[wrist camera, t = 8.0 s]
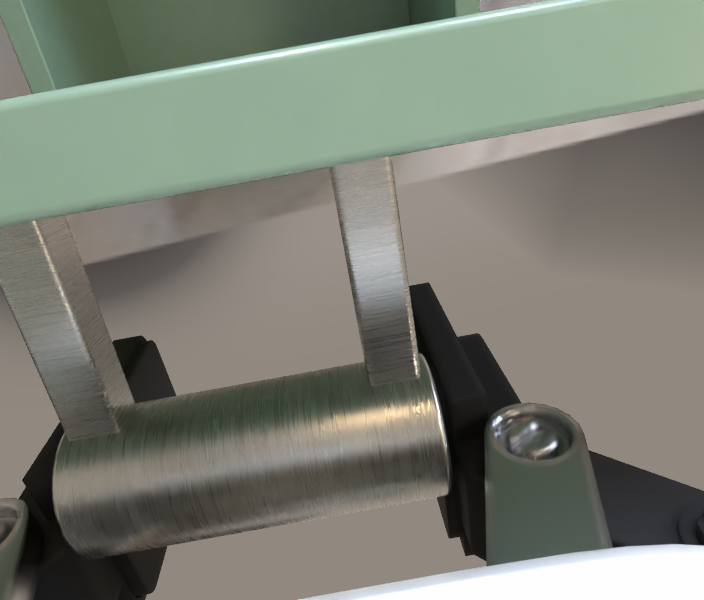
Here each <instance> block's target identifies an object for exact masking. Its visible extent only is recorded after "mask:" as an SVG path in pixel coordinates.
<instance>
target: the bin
mask: <svg viewBox="0 0 704 600" xmlns="http://www.w3.org/2000/svg"><path fill="white" fill-rule="evenodd" d="M476 13H480V3H479V0H0V17H1V19H2V22H3V24H4V27H5V29H6V31H7V34H8V36H9V39H10V41H11V44H12V46H13V48H14V51H15V53H16V56H17V58H18V61H19V63H20V65H21V68H22V70H23V73H24V75H25V77H26V80H27V82H28V85H29V87H30V90H31V92H32V94H36V93H41V92H47V91H52V90H58V89H63V88H69V87H74V86H80V85H85V84H91V83H96V82H102V81H107V80H113V79H118V78H124V77H129V76H135V75H140V74H146V73H151V72H157V71H162V70H168V69H173V68H179V67H184V66H190V65H195V64H201V63H206V62H212V61H217V60H223V59H228V58H234V57H239V56H245V55H250V54H256V53H261V52H267V51H272V50H278V49H283V48H289V47H294V46H300V45H305V44H311V43H316V42H322V41H327V40H333V39H338V38H344V37H349V36H355V35H360V34H366V33H371V32H377V31H382V30H388V29H393V28H399V27H404V26H410V25H415V24H421V23H426V22H432V21H437V20H443V19H448V18H454V17H459V16H465V15H470V14H476Z"/></svg>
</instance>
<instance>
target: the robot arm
mask: <svg viewBox="0 0 704 600" xmlns="http://www.w3.org/2000/svg"><path fill="white" fill-rule="evenodd" d="M409 290H410V298H411V305H412V312H413V320H414V327H415V334H416V341H417V349H418V353H421V354H422V355H423V356H424V358H425V359H426V361H427V363H428V365H429V368H430V370H431V373H432V376H433V379H434V382H435V386H436V389H437V393H438V397H439V401H440V405H441V409H442V413H443V418H444V423H445V427H446V433H447V438H448V444H449V450H450V457H451V465H452V489H451V492H450V493H449V494H447V495H446V496H440V497H437V500H438V503H439V507H440V510H441V514H442V517H443V520H444V524H445V528H446V531H447V534H448V537H449V538H455V537H460V540H461V543H462V546H463V549H464V553H465V556H468V555H476V556H478V557H480V558H481V559H483V560H485V561H487V566H486V567H480V568H473V569H467V570H461V571H456V572H450V573H445V574H438V575H433V576H427V577H422V578H416V579H411V580H405V581H399V582H394V583H388V584H382V585H377V586H371V587H366V588H360V589H354V590H349V591H343V592H337V593H332V594H326V595H321V596H315V597H309V598H304V599H298V600H704V491H702V490H699V489H696V488H693V487H691V486H688V485H685V484H682V483H680V482H677V481H674V480H671V479H668V478H665V477H663V476H659V475H657V474H654V473H651V472H648V471H646V470H643V469H640V468H637V467H634V466H632V465H629V464H625V463H623V462H620V461H617V460H615V459H612V458H609V457H606V456H603V455H601V454H598V453H595V452H592V451H589V450H588V447H587V443H586V439H585V436H584V433H583V431H582V429H581V427H580V425H579V423H578V422H576V420H574V419H573V418H572V417H571V416H570V415H569V414H567V413H565V412H563V411H562V410H559V409H558V408H555V407H551V406H548V405H545V404H537V403H521V402H520V400H519V398H518V397H517V395H516V393H515V392H514V390H513V388H512V387H511V385H510V383H509V382H508V380H507V378H506V377H505V375H504V373H503V372H502V370H501V368H500V367H499V365H498V363H497V362H496V360H495V358H494V357H493V355H492V353H491V352H490V350H489V348H488V347H487V345H486V343H485V342H484V340H483V338H482V337H481V336H480V334H477V333H476V334H471V335H465V336H460V337H457V336H456V334H455V332H454V330H453V329H452V326H451V324H450V322H449V320H448V318H447V316H446V314H445V313H444V311H443V309H442V307H441V305H440V303H439V301H438V299H437V297H436V295H435V293H434V291H433V289H432V288H431V285H430V284H429V283H423V284H417V285H412V286H409ZM112 343H113V346H114V349H115V351H116V354H117V357H118V359H119V362H120V365H121V367H122V370H123V373H124V375H125V378H126V381H127V383H128V386H129V389H130V391H131V394H132V397H133V399H134V402H135V403H140V402H146V401H151V400H157V399H162V398H168V397H173V396H176V394H175V391H174V389H173V386H172V384H171V381H170V379H169V376H168V374H167V371H166V368H165V366H164V363H163V361H162V358H161V356H160V354H159V351H158V349H157V346H156V344H155V343H154V342H153V341H152V340H151V341H147V340H146V339H145V338H144V337H143V336H136V337H130V338H125V339H119V340H114V341H113V342H112ZM64 432H65V431H64V429H63V427H62V424H61V422H60V423H59V424H58V426H57V427H56V429H55V430H54V432H53V433H52V435H51V437H50V438H49V440H48V441H47V443H46V444H45V446H44V447H43V449H42V450H41V452H40V453H39V455H38V457H37V458H36V460H35V461H34V463H33V464H32V466H31V467H30V469H29V470H28V472H27V473H26V475H25V477H24V478H23V480H22V481H23V482H24V484H25V486H26V488H25V490H24V491H23V493H22V494H21V496H20V498H19V499H17V498H2V499H0V600H145V598H146V595H147V594H150V593H152V592H153V591H154V590H155V587H156V585H157V581H158V578H159V574H160V570H161V566H162V563H163V560H164V556H165V552H166V549H167V546H164V547H158V548H153V549H147V550H141V551H136V552H130V553H125V554H119V555H114V556H108V557H103V558H97V559H89V558H85V557H82V556H79V555H78V554H76V553H75V552H74V551H72V550H71V549H70V547H69V546H68V545H67V544H66V542H65V540H64V539H63V537H62V535H61V532H60V530H59V528H58V525H57V521H56V518H55V513H54V508H53V500H52V473H53V465H54V460H55V455H56V452H57V448H58V445H59V443H60V440H61V438H62V436H63V434H64Z"/></svg>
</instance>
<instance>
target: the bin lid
mask: <svg viewBox="0 0 704 600" xmlns="http://www.w3.org/2000/svg"><path fill="white" fill-rule="evenodd" d="M702 99H704V0H547V1H541V2H536V3H530V4H525V5H519V6H514V7H509V8H503V9H498V10H492V11H487V12H481V13H476V14H470V15H465V16H459V17H454V18H448V19H443V20H437V21H432V22H426V23H421V24H415V25H410V26H404V27H399V28H393V29H388V30H382V31H377V32H371V33H366V34H360V35H355V36H349V37H344V38H338V39H333V40H327V41H322V42H316V43H311V44H305V45H300V46H294V47H289V48H283V49H278V50H272V51H267V52H261V53H256V54H250V55H245V56H239V57H234V58H228V59H223V60H217V61H212V62H206V63H201V64H195V65H190V66H184V67H179V68H173V69H168V70H162V71H157V72H151V73H146V74H140V75H135V76H129V77H124V78H118V79H113V80H107V81H102V82H96V83H91V84H85V85H80V86H74V87H69V88H63V89H58V90H52V91H47V92H41V93H36V94H30V95H25V96H19V97H14V98H8V99H3V100H0V287H1V289H2V291H3V293H4V295H5V298H6V300H7V303H8V305H9V307H10V309H11V311H12V314H13V316H14V318H15V321H16V323H17V325H18V327H19V330H20V332H21V334H22V336H23V339H24V341H25V343H26V345H27V348H28V349H29V352H30V354H31V357H32V359H33V361H34V363H35V366H36V368H37V370H38V372H39V374H40V377H41V379H42V381H43V384H44V386H45V388H46V390H47V393H48V395H49V397H50V399H51V402H52V404H53V406H54V408H55V411H56V413H57V415H58V417H59V420H60V422H61V424H62V427H63V429H64V431H65V432H64V434H63V436H62V438H61V440H60V443H59V445H58V448H57V452H56V455H55V460H54V465H53V473H52V500H53V508H54V513H55V518H56V521H57V525H58V528H59V530H60V532H61V535H62V537H63V539H64V540H65V542H66V544H67V545H68V546H69V547H70V549H71V550H72V551H74V552H75V553H76V554H78V555H79V556H82V557H85V558H89V559H97V558H103V557H108V556H114V555H119V554H125V553H130V552H136V551H141V550H147V549H153V548H158V547H164V546H169V545H175V544H180V543H185V542H191V541H197V540H202V539H208V538H213V537H219V536H224V535H230V534H235V533H241V532H247V531H252V530H258V529H263V528H269V527H274V526H280V525H285V524H291V523H296V522H302V521H307V520H312V519H319V518H324V517H330V516H335V515H341V514H346V513H352V512H357V511H363V510H368V509H374V508H379V507H385V506H390V505H396V504H402V503H407V502H412V501H418V500H423V499H429V498H434V497H440V496H446V495H447V494H449V493H450V492H451V489H452V465H451V457H450V450H449V444H448V438H447V433H446V427H445V423H444V418H443V413H442V409H441V405H440V401H439V397H438V393H437V389H436V386H435V382H434V379H433V376H432V373H431V370H430V368H429V365H428V363H427V361H426V359H425V358H424V356H423V355H422V354H421V353H418V349H417V341H416V334H415V327H414V320H413V312H412V305H411V298H410V290H409V283H408V276H407V269H406V262H405V254H404V247H403V240H402V232H401V225H400V218H399V211H398V204H397V196H396V188H395V181H394V174H393V167H392V159H391V156H394V155H399V154H405V153H410V152H416V151H421V150H427V149H432V148H438V147H443V146H449V145H454V144H460V143H465V142H471V141H476V140H482V139H487V138H493V137H498V136H504V135H509V134H515V133H520V132H526V131H531V130H537V129H542V128H548V127H553V126H559V125H564V124H570V123H575V122H581V121H586V120H592V119H597V118H603V117H608V116H614V115H619V114H625V113H630V112H636V111H641V110H647V109H652V108H658V107H663V106H669V105H674V104H680V103H685V102H691V101H696V100H702ZM328 167H329V168H330V173H331V179H332V184H333V190H334V195H335V201H336V206H337V212H338V217H339V223H340V228H341V234H342V239H343V245H344V250H345V256H346V262H347V267H348V273H349V278H350V284H351V289H352V295H353V300H354V306H355V311H356V317H357V322H358V328H359V333H360V339H361V345H362V350H363V355H364V361H365V362H362V363H355V364H350V365H344V366H339V367H334V368H328V369H322V370H317V371H311V372H306V373H301V374H295V375H289V376H284V377H278V378H273V379H267V380H262V381H256V382H251V383H245V384H240V385H235V386H229V387H223V388H217V389H212V390H207V391H201V392H196V393H190V394H185V395H179V396H173V397H168V398H162V399H157V400H151V401H146V402H140V403H135V402H134V399H133V397H132V394H131V391H130V389H129V386H128V383H127V381H126V378H125V375H124V373H123V370H122V367H121V365H120V362H119V359H118V357H117V354H116V351H115V349H114V346H113V343H112V341H111V338H110V335H109V333H108V330H107V327H106V325H105V322H104V319H103V317H102V314H101V312H100V309H99V306H98V304H97V301H96V299H95V295H94V293H93V290H92V287H91V285H90V282H89V280H88V277H87V274H86V271H85V269H84V266H83V263H82V261H81V258H80V255H79V253H78V250H77V247H76V245H75V242H74V239H73V237H72V234H71V231H70V229H69V226H68V223H67V221H66V218H65V215H69V214H74V213H80V212H85V211H91V210H96V209H102V208H107V207H113V206H118V205H124V204H129V203H135V202H140V201H146V200H151V199H157V198H162V197H168V196H173V195H179V194H184V193H190V192H195V191H201V190H206V189H212V188H217V187H223V186H228V185H234V184H240V183H245V182H251V181H256V180H262V179H267V178H273V177H278V176H284V175H289V174H295V173H300V172H306V171H311V170H317V169H322V168H328Z"/></svg>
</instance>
